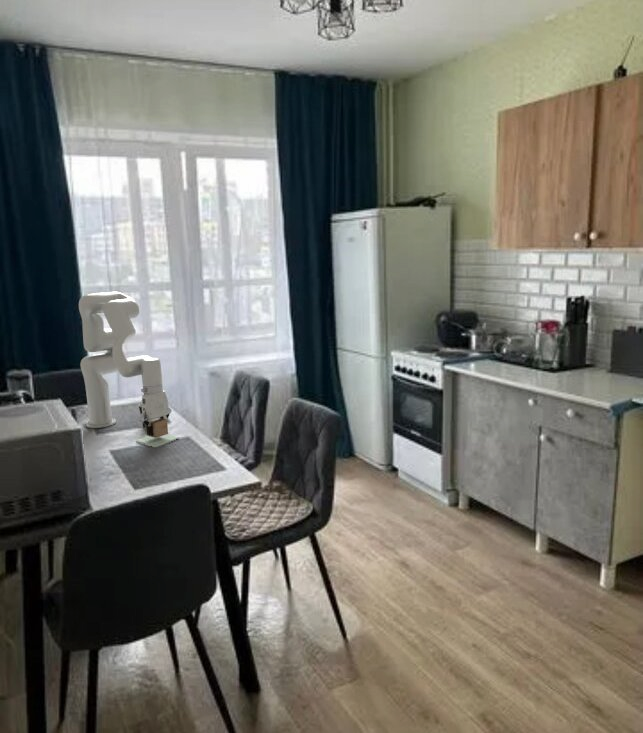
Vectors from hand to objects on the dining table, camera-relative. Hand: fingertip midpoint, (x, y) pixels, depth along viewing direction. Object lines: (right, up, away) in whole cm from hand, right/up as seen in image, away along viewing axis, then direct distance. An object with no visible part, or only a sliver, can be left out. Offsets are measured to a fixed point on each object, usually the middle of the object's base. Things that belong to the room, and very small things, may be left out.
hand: (157, 432), depth 238 cm
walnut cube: (0, -1, 0) cm, 1 cm away
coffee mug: (-7, 0, +21) cm, 22 cm away
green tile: (0, -3, +1) cm, 4 cm away
